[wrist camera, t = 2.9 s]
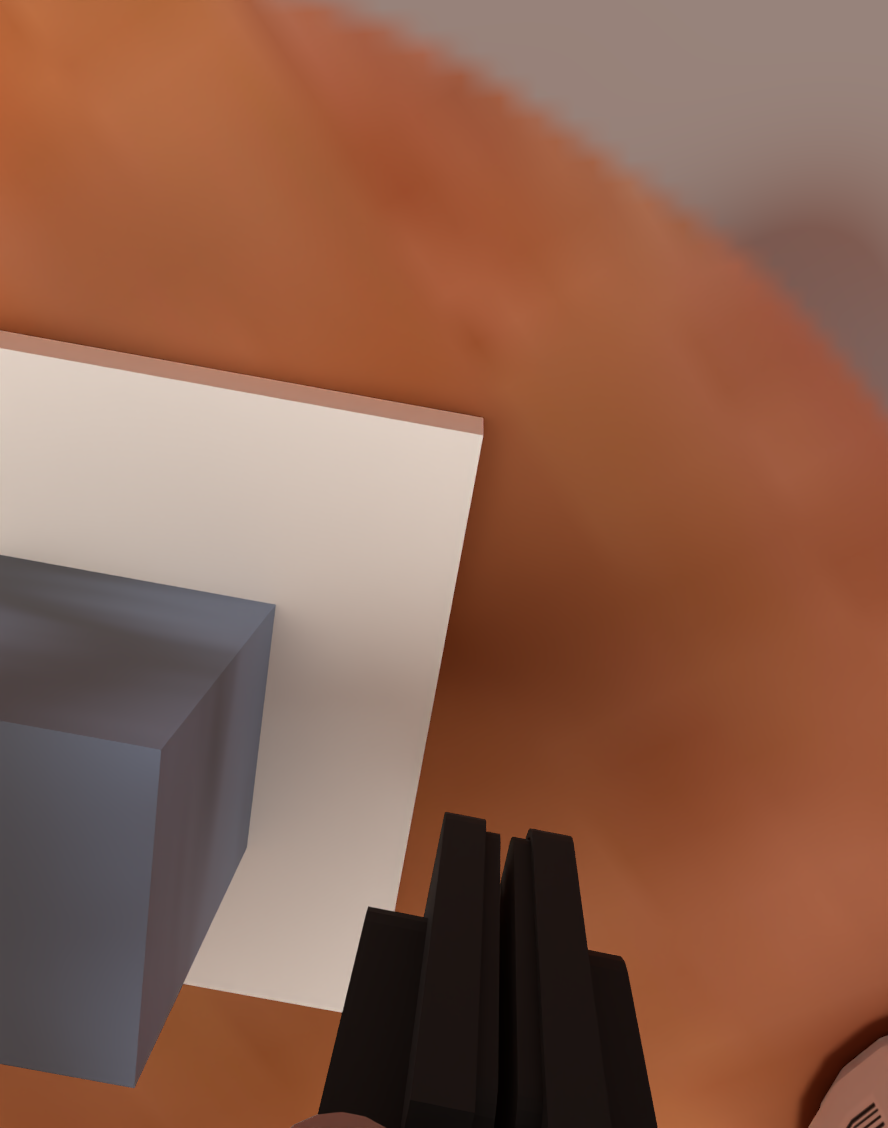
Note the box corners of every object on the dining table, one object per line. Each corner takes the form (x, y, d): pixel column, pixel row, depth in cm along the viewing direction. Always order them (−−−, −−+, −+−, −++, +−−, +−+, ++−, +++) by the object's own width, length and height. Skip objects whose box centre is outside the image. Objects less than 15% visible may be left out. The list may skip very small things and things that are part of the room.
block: (-11, 801, 15) (-246, 1020, 10) (-8, 553, 14) (-279, 670, 9) (247, 847, 15) (134, 1087, 10) (275, 604, 14) (161, 749, 9)
